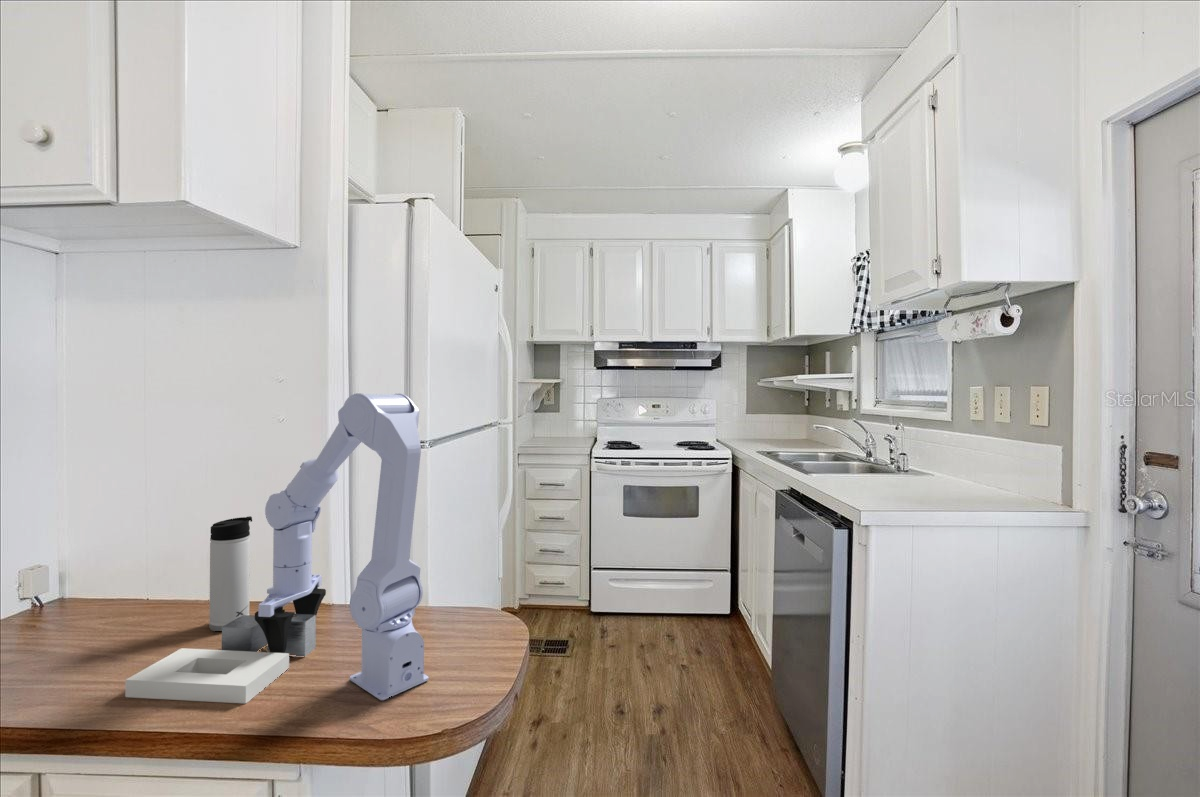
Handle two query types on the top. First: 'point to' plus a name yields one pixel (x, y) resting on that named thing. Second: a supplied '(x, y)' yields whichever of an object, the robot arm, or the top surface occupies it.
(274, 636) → the robot arm
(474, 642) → the top surface
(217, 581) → the travel mug
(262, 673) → the slot board
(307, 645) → the blocky grey bit
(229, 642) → the square bit
